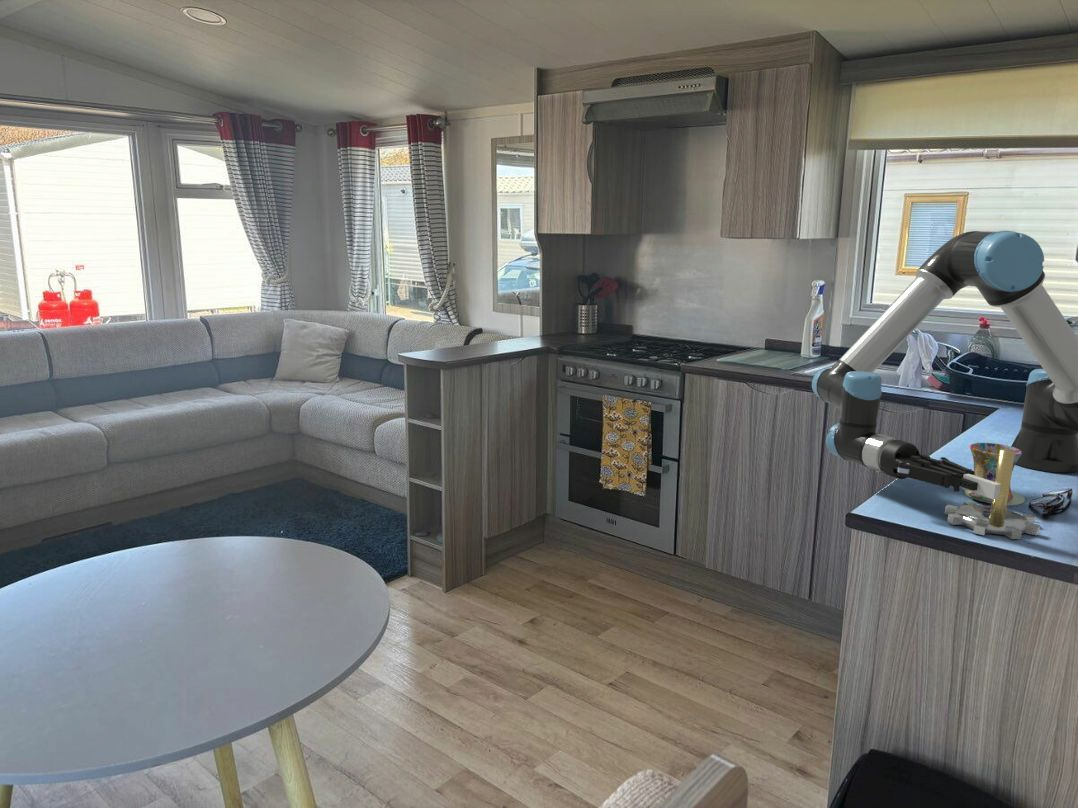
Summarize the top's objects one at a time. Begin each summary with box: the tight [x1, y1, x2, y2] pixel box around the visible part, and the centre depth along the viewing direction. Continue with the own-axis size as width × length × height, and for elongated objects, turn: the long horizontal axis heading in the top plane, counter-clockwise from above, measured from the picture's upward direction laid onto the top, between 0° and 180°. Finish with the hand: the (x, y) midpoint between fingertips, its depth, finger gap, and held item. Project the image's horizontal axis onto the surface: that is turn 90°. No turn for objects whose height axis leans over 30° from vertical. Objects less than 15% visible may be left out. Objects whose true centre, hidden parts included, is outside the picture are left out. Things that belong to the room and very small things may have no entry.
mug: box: [966, 442, 1022, 502], centre depth 165 cm, size 12×9×11 cm
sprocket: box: [944, 449, 1041, 540], centre depth 149 cm, size 15×15×16 cm
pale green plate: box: [963, 489, 1026, 506], centre depth 167 cm, size 11×11×1 cm
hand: (997, 491), depth 143 cm, fingers closed
